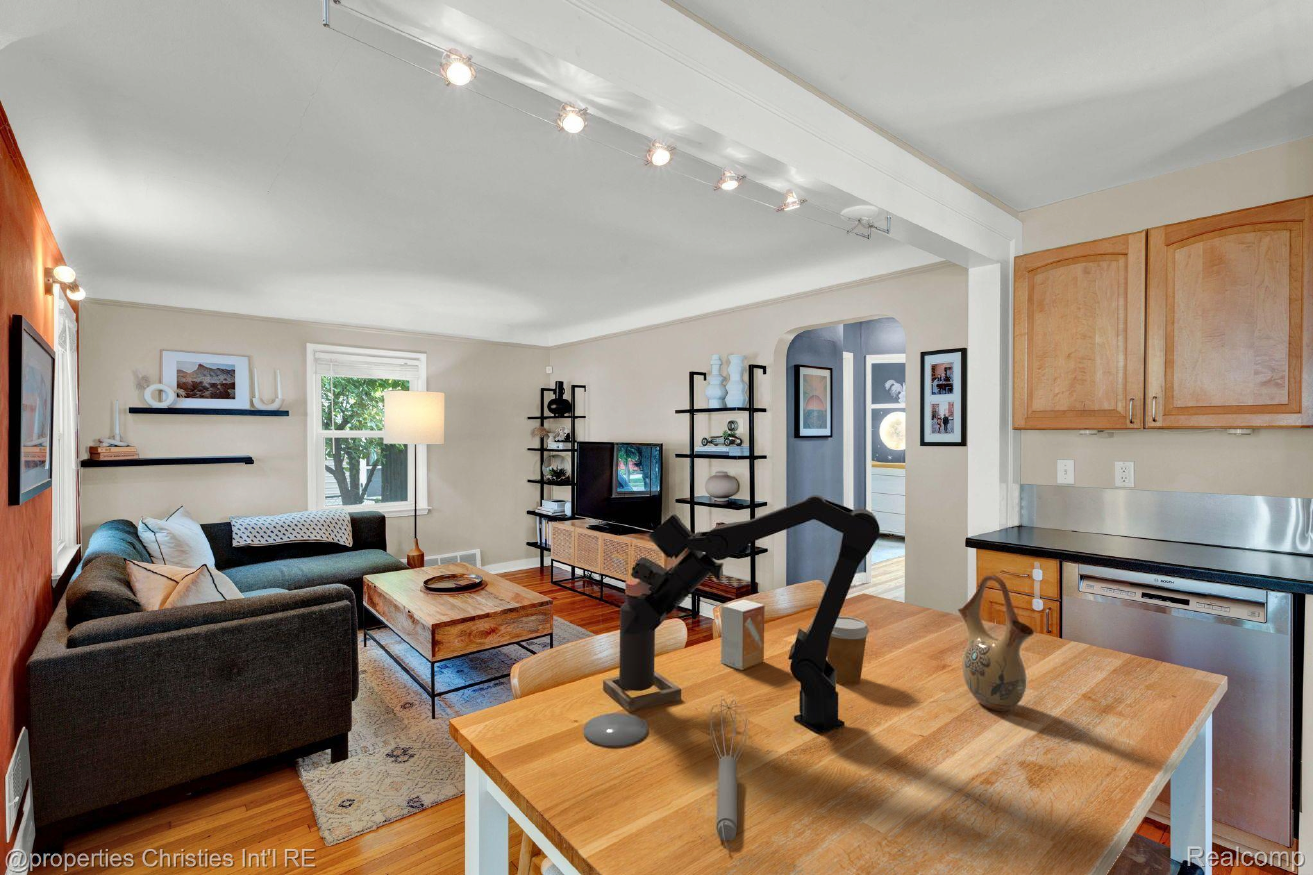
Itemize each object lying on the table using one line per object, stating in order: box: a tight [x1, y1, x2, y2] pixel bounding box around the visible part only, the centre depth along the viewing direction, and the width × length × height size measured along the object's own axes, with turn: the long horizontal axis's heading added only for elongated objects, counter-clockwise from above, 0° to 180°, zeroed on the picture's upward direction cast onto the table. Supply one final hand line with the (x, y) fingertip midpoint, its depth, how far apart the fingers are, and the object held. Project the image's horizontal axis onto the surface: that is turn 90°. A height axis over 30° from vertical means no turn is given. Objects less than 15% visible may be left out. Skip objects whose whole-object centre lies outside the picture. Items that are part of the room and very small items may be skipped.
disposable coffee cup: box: [826, 615, 870, 686], centre depth 131 cm, size 10×10×12 cm
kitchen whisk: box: [709, 698, 748, 850], centre depth 93 cm, size 6×34×6 cm, turn 173°
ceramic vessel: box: [957, 574, 1035, 712], centre depth 118 cm, size 16×9×25 cm, turn 17°
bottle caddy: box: [602, 670, 682, 713], centre depth 123 cm, size 11×11×2 cm
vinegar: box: [618, 578, 656, 692], centre depth 121 cm, size 7×7×20 cm
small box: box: [720, 599, 766, 671], centre depth 140 cm, size 8×6×13 cm
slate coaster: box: [583, 712, 648, 748], centre depth 108 cm, size 11×11×1 cm
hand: (631, 629), depth 121 cm, fingers closed on vinegar, 6 cm apart
